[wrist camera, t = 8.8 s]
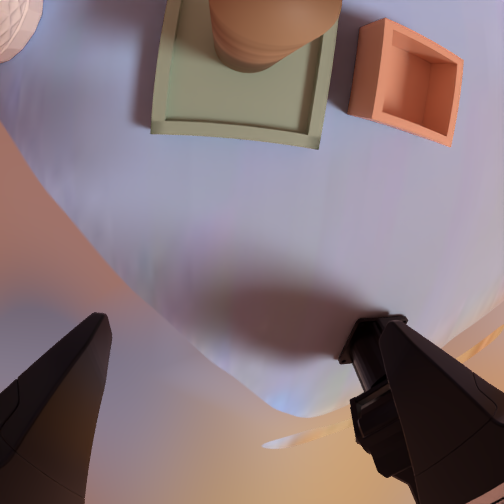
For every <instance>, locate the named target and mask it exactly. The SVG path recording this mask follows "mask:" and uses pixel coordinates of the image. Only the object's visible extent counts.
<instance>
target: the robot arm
mask: <svg viewBox="0 0 504 504" xmlns="http://www.w3.org/2000/svg"><path fill="white" fill-rule="evenodd" d="M407 322H408V319H407V318H406V317H405V316H402V317H386V318H366V319H359V320H358V321H357V322H356V324H355V326H354V328H353V330H352V332H351V335H350V337H349V339H348V341H347V343H346V345H345V347H344V349H343V351H342V353H341V355H340V357H339V359H338V361H339V363H340V364H350V363H352V364H353V366H354V369H355V371H356V374H357V376H358V378H359V381H360V383H361V386H362V388H363V390H364V393H362V394H360V395H359V396H357V397H354V398H352V399H350V405H351V407H350V409H351V414H352V420H353V425H354V431H355V437H356V442H357V444H360V445H361V446H362V447H363V449H364V450H365V451H366V452H367V453H369V454H371V455H372V457H373V460H374V463H375V465H376V468H377V471H378V472H379V473H380V474H381V475H383V476H384V477H386V478H389V477H391V476H392V477H394V478H396V479H398V480H400V481H402V482H404V483H406V484H408V486H409V488H410V490H411V492H412V495H413V497H414V500H415V502H416V504H504V393H503V392H502V391H500V390H499V389H497V388H496V387H494V386H493V385H491V384H489V383H488V382H486V381H485V380H484V379H482V378H481V377H479V376H478V375H477V374H475V373H474V372H472V371H471V370H470V369H468V368H467V367H465V366H464V365H463V364H461V363H460V362H459V361H457V360H456V359H454V358H453V357H452V356H450V355H449V354H447V353H446V352H445V351H443V350H442V349H440V348H439V347H438V346H436V345H435V344H433V343H432V342H430V341H429V340H428V339H426V338H425V337H423V336H422V335H420V334H419V333H418V332H416V331H415V330H413V329H412V328H410V327H409V326H407V325H406V324H407ZM111 343H112V332H111V328H110V324H109V320H108V317H107V315H106V314H104V313H97V312H94V313H92V314H91V315H90V316H88V317H87V318H86V319H85V320H83V321H82V322H81V323H80V324H79V325H77V326H76V327H75V328H74V329H73V330H71V331H70V332H69V333H68V334H67V335H66V336H64V337H63V338H62V339H61V340H60V341H58V342H57V343H56V344H55V345H54V346H53V347H52V348H50V349H49V350H48V351H47V352H46V353H45V354H44V355H42V356H41V357H40V358H39V359H38V360H37V361H36V362H34V363H33V364H32V365H31V366H30V367H29V368H28V369H27V370H26V371H24V372H23V373H22V374H21V375H20V376H19V377H18V379H16V380H14V381H13V382H12V383H11V384H10V385H9V386H8V387H7V388H6V389H5V390H4V391H2V392H1V393H0V504H84V503H85V499H84V498H85V491H86V483H87V476H88V468H89V462H90V456H91V449H92V444H93V438H94V433H95V428H96V423H97V418H98V413H99V409H100V404H101V400H102V396H103V392H104V387H105V383H106V376H107V369H108V362H109V355H110V349H111Z"/></svg>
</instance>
